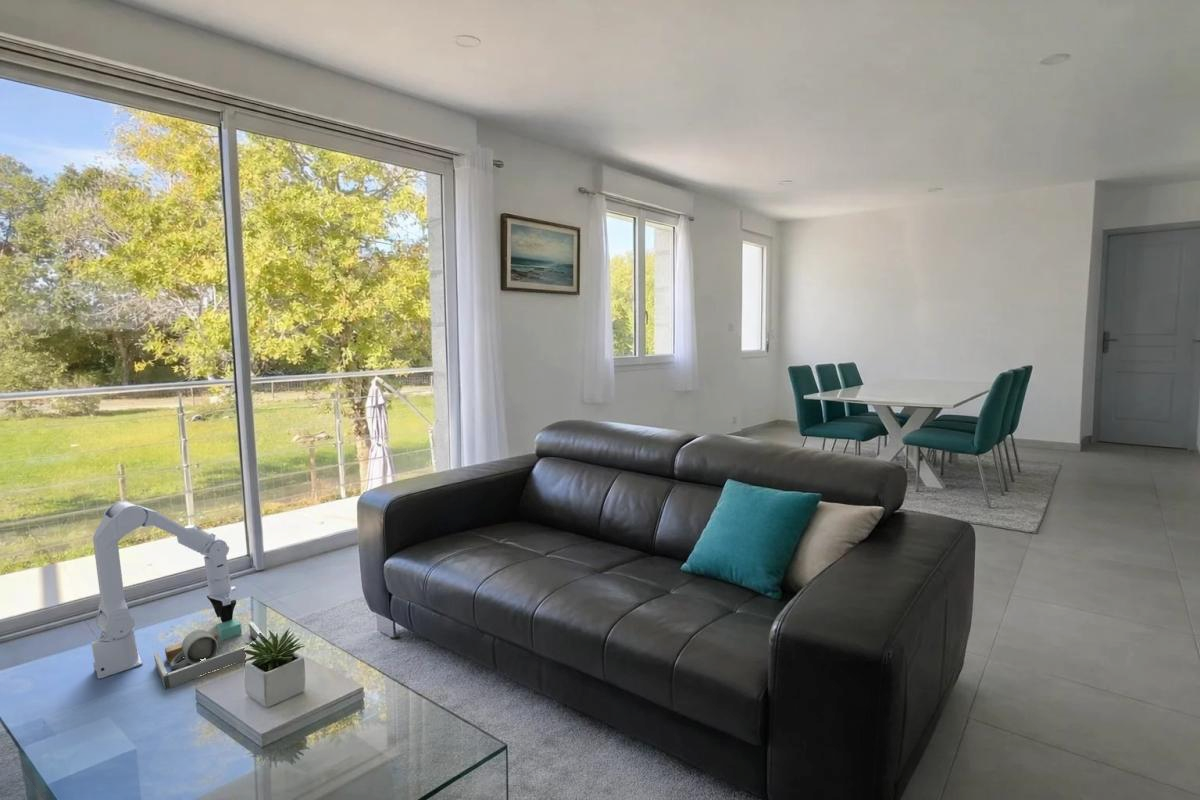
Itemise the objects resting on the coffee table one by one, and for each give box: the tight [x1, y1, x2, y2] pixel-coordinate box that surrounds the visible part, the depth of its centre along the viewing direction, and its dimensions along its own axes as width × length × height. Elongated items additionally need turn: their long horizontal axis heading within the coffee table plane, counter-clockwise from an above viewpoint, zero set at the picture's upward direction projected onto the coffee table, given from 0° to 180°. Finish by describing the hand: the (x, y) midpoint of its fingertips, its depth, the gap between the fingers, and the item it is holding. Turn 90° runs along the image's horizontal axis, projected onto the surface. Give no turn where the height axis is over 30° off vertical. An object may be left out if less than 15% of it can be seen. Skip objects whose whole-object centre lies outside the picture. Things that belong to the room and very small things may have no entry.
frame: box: [153, 621, 263, 690], centre depth 174 cm, size 24×15×4 cm, turn 132°
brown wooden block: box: [164, 631, 220, 664], centre depth 178 cm, size 12×3×4 cm, turn 133°
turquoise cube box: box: [216, 618, 243, 641], centre depth 187 cm, size 5×5×3 cm
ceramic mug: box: [170, 629, 219, 671], centre depth 173 cm, size 11×8×8 cm
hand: (224, 620), depth 193 cm, fingers open, 7 cm apart
